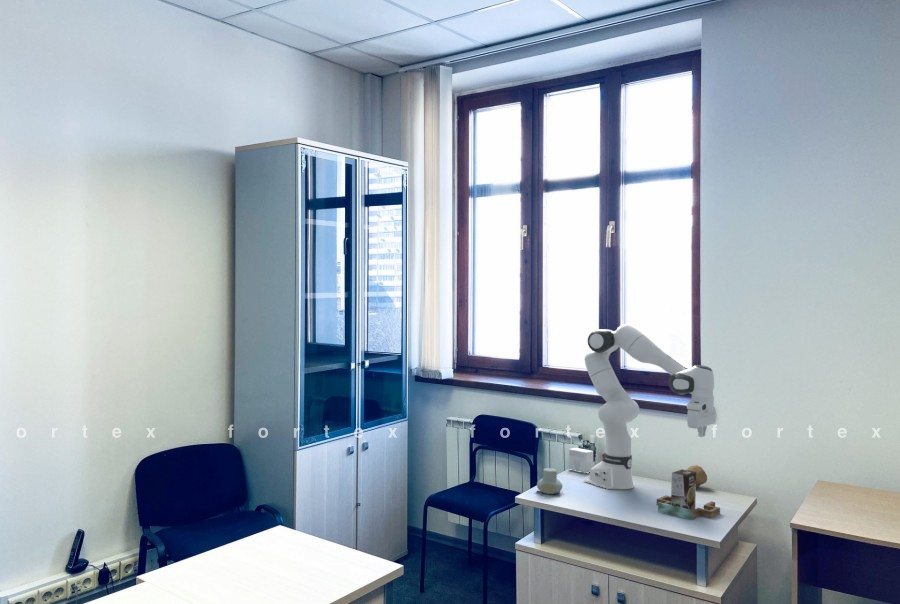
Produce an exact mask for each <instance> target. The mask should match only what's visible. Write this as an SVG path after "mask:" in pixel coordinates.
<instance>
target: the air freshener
mask: <svg viewBox="0 0 900 604" xmlns="http://www.w3.org/2000/svg"><path fill="white" fill-rule="evenodd" d="M557 472H558V470H557V469H556V468H551V467H545V468H543V470H542V478H540V479H539V480H538V481H537V482H536V487H537V489H538V491H540V492H541V493H543V494H545V493H546V495H556V494H558V493H560V491H562V489H563V483H562V482H561V481H560V480H559V479H558V475H557Z"/></svg>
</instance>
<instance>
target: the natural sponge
mask: <svg viewBox="0 0 900 604" xmlns="http://www.w3.org/2000/svg"><path fill="white" fill-rule="evenodd" d="M686 470H688V471H694V472H696V488H698V487H700V486H701V485H704V484H706V483H707V481H708V475H707V473H706V471H705V470H704V469H703V467H701V466H700V465H697V464H696V465H691V466H689V467H687V469H686Z"/></svg>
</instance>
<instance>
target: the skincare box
mask: <svg viewBox="0 0 900 604" xmlns="http://www.w3.org/2000/svg"><path fill="white" fill-rule="evenodd" d="M592 467H594V451H593V450H591V449H584V448H579V447H574V448H573V447H572V448H569V449H568V471H570V470H569V469H572V470H576V471H581V472H585V473H586V472H589V471H590V470H591V468H592ZM576 471H575V472H576Z"/></svg>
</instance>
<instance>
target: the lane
mask: <svg viewBox="0 0 900 604" xmlns="http://www.w3.org/2000/svg"><path fill="white" fill-rule="evenodd" d="M656 506H657V512H658V513H661V512H662V513H661V514H667V515H670V516H674V517H678V518H682V519H686V520H690V521H693V520H694V519H696V517H697V518H698V517H704V518H709V519H713V518H715V517H717V516H719V515H720V514H721V508H720V506H716V502H715V501H710V502H707V503H706V504H703V508H702V507H701V508H700V507H697V508H695V510H690V509H686V508H682V507H677V506H673V505H671V495H666V494H665V495H663V496H661V497H659V498H656Z"/></svg>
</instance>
